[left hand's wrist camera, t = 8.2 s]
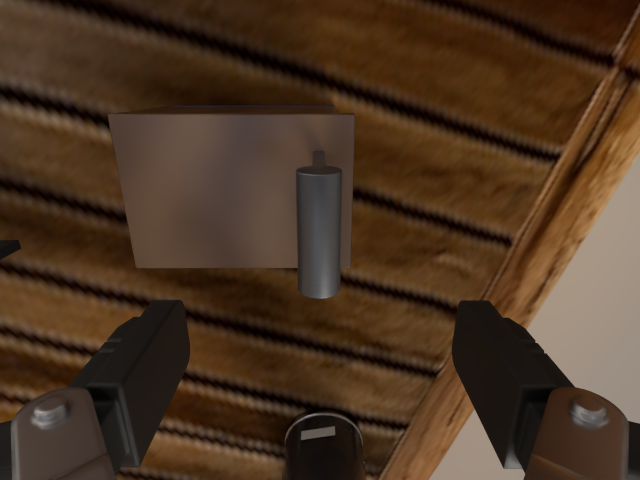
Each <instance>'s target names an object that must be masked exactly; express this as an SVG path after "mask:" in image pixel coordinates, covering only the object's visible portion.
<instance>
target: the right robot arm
mask: <svg viewBox="0 0 640 480" xmlns="http://www.w3.org/2000/svg"><path fill="white" fill-rule="evenodd" d="M19 249H21V246H20V243H19V240H4V241H0V260H1V259H2V258H4V257H6V256H8V255H10V254H12V253H14V252H15V251H17V250H19Z"/></svg>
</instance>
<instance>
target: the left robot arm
mask: <svg viewBox="0 0 640 480" xmlns="http://www.w3.org/2000/svg"><path fill="white" fill-rule="evenodd" d="M189 356H190V343H189V336H188V329H187V322H186V315H185V308H184V304H183V302H182V301H181V300H153V301H152V302H151V303H150V305H149V306H148V307H147V309H146V310H145V311H144V312H143V314H142V315H141V316H140V317H133V318H132V319H130V320H128V321H127V322H125V323H124V324H122V325H121V326H119V327H118V328H117V329H116V330H115V331H114V332H113V334H112V335H111V336H110V337H109V338H108V340H107V342H105V343H104V344H103V345H102V347H101V348H100V349H99V352H98V353H96V354H95V355H94V356H93V357H92V358H91V360H90V361H89V362H88V363H87V364H86V366H85V367H84V368H83V369H82V370H81V372H80V373H79V374H78V375H77V376H76V377H75V379H74V380H73V381H72V382H71V383H70V385H69V386H68V387H65V388H60V389H56V390H53V391H50V392H47V393H45V394H42V395H40V396H38V397H37V398H35V399H33V400H32V401H30V402H29V403H27V404H26V405H25V406H24V407H23V408H21V409H20V410H19V412H18V413H17V414H16V415H15V417H14V418H13V420H12V421H7V422H3V423H0V480H116V475H117V473H118V471H119V469H120V467H140V465H141V462H142V460H143V458H144V456H145V454H146V452H147V450H148V448H149V446H150V444H151V441H152V439H153V437H154V435H155V433H156V431H157V429H158V427H159V425H160V423H161V420H162V418H163V416H164V414H165V412H166V410H167V408H168V406H169V404H170V402H171V399H172V397H173V395H174V393H175V391H176V389H177V387H178V385H179V383H180V381H181V378H182V376H183V374H184V372H185V370H186V368H187V365H188V362H189ZM452 357H453V363H454V366H455V369H456V371H457V373H458V375H459V377H460V379H461V381H462V383H463V385H464V387H465V389H466V392H467V394H468V396H469V398H470V400H471V402H472V404H473V406H474V408H475V410H476V412H477V414H478V416H479V418H480V420H481V423H482V425H483V427H484V429H485V431H486V433H487V435H488V437H489V439H490V441H491V443H492V445H493V448H494V450H495V452H496V454H497V456H498V458H499V460H500V462H501V464H502V466H503V468H504V469H523V470H524V472H525V477H524V480H640V424H638V423H634V422H630V421H628V420H627V418H626V417H625V415H624V414H623V413H622V412H621V410H620V409H619V408H617V407H616V406H615V405H614V404H613V403H611V402H610V401H608V400H607V399H605V398H603V397H602V396H600V395H597V394H595V393H593V392H590V391H587V390H584V389H580V388H575V387H574V385H573V384H572V383H571V382H570V381H569V380H568V378H567V377H566V376H565V375H564V374H563V373H562V371H561V370H560V369H559V368H558V367H557V365H556V364H555V363H554V362H553V361H552V360H551V358H550V357H549V356H548V355H547V354H544V350H543V349H542V348H541V347H540V346H539V344H538V343H535V340H534V338H533V337H532V336H531V335H530V334H529V333H528V331H527V330H526V329H525V328H524V327H522V326H521V325H519V324H517V323H516V322H514V321H513V320H511V319H510V318H502V316H501V315H500V314H499V313H498V311H497V310H496V309H495V307H494V306H493V305H492V304H491V303H490V302H489V301H460V303H459V305H458V309H457V316H456V323H455V330H454V337H453V343H452ZM362 446H363V440H362V433H361V430H360V428H359V426H358V424H357V423H356V422H355V421H354V420H353V419H352V418H351V417H349V416H348V415H346V414H344V413H341V412H339V411H335V410H329V409H319V410H313V411H309V412H306V413H304V414H302V415H300V416H298V417H297V418H295V419H294V420H293V421H292V422H291V423H290V425H289V426H288V428H287V430H286V434H285V452H284V462H283V471H282V480H366V474H365V465H364V456H363V448H362Z"/></svg>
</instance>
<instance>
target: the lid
mask: <svg viewBox="0 0 640 480" xmlns="http://www.w3.org/2000/svg"><path fill="white" fill-rule="evenodd" d="M108 120H109V125H110V131H111V136H112V142H113V147H114V152H115V158H116V163H117V168H118V174H119V179H120V184H121V190H122V195H123V200H124V206H125V211H126V216H127V222H128V227H129V232H130V238H131V243H132V248H133V254H134V259H135V264H136V268H298V290H299V292H300V293H301V294H302V295H304V296H306V297H309V298H315V299H323V298H329V297H332V296H334V295H336V294H337V293H338V292H339V290H340V268H350V267H351V236H352V204H353V172H354V140H355V114H353V113H114V114H108Z"/></svg>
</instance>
